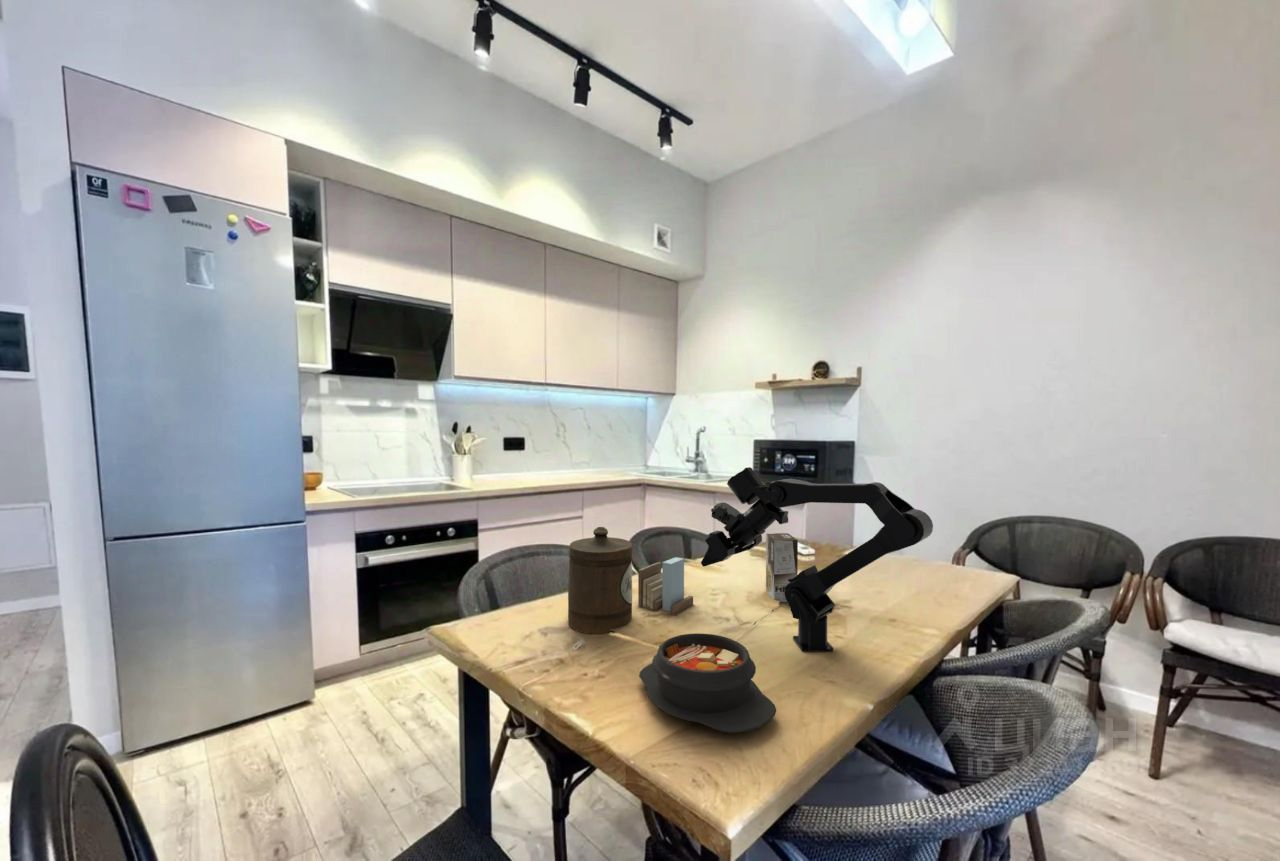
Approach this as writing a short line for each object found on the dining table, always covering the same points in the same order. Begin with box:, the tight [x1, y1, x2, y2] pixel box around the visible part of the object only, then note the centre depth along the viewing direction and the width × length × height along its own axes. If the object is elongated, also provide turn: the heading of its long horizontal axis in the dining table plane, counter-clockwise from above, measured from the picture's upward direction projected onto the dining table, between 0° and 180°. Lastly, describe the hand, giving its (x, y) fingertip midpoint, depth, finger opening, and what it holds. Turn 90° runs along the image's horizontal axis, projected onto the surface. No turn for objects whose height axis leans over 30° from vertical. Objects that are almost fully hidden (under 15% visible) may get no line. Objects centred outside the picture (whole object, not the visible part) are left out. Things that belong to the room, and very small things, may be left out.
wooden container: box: [567, 526, 633, 635], centre depth 118 cm, size 15×15×22 cm
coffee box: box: [765, 532, 799, 603], centre depth 135 cm, size 9×6×16 cm
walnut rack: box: [637, 561, 695, 617], centre depth 126 cm, size 11×9×10 cm
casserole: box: [638, 632, 777, 734], centre depth 84 cm, size 25×19×8 cm
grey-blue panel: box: [662, 556, 685, 611], centre depth 125 cm, size 2×6×12 cm, turn 144°
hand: (712, 560), depth 121 cm, fingers open, 9 cm apart
